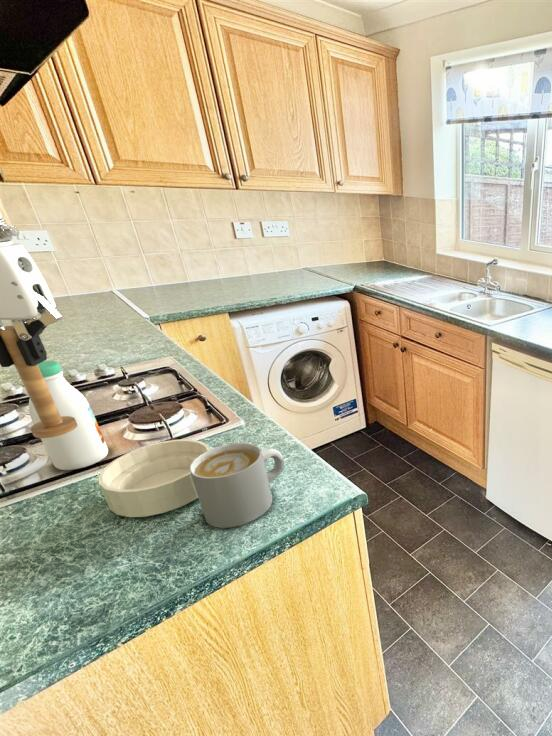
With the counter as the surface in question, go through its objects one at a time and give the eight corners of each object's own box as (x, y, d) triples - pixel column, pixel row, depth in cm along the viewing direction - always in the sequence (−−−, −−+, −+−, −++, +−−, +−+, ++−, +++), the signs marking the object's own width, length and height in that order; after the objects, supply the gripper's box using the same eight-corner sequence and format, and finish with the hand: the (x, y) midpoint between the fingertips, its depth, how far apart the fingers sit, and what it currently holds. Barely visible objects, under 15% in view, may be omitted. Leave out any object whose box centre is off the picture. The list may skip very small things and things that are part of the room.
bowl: (94, 498, 72) (81, 470, 70) (191, 456, 84) (183, 431, 82) (137, 534, 66) (124, 504, 63) (235, 482, 78) (228, 456, 75)
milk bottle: (106, 463, 81) (65, 368, 72) (50, 476, 77) (0, 377, 68) (112, 444, 86) (75, 354, 78) (60, 455, 82) (15, 361, 74)
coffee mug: (214, 537, 66) (198, 486, 62) (198, 505, 72) (182, 457, 68) (301, 499, 75) (292, 453, 71) (280, 474, 81) (271, 429, 77)
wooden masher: (28, 431, 66) (-23, 328, 59) (70, 419, 70) (27, 320, 63) (40, 441, 64) (-11, 335, 57) (83, 428, 68) (40, 327, 61)
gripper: (61, 233, 60) (105, 352, 68) (-89, 228, 56) (-24, 356, 64) (22, 239, 54) (76, 370, 61) (-151, 234, 49) (-70, 376, 57)
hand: (25, 362), depth 62 cm, fingers closed on wooden masher
